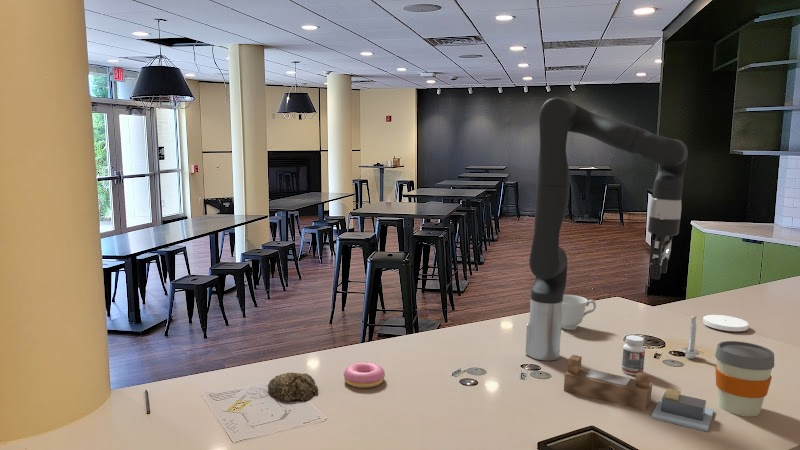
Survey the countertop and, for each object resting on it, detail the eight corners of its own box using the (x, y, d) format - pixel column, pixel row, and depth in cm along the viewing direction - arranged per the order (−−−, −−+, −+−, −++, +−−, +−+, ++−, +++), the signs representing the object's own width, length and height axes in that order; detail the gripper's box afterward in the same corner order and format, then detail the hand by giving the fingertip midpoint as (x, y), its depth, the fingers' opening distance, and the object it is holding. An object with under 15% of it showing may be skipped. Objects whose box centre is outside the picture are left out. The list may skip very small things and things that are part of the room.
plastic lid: (697, 320, 224) (697, 313, 223) (738, 322, 222) (738, 316, 221) (710, 332, 210) (711, 325, 210) (754, 335, 208) (755, 328, 208)
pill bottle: (644, 376, 170) (647, 342, 168) (623, 374, 171) (625, 340, 170) (641, 369, 175) (643, 335, 174) (620, 367, 177) (622, 333, 175)
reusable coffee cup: (767, 424, 143) (775, 362, 141) (707, 411, 150) (713, 351, 147) (769, 405, 153) (776, 347, 151) (713, 393, 160) (718, 337, 158)
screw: (702, 357, 185) (694, 361, 182) (685, 353, 189) (678, 357, 186) (706, 316, 183) (698, 319, 180) (689, 312, 187) (682, 315, 184)
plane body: (563, 390, 160) (565, 360, 159) (571, 381, 166) (573, 352, 165) (645, 410, 149) (647, 378, 148) (650, 399, 155) (653, 369, 154)
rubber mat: (651, 417, 145) (651, 415, 145) (660, 399, 155) (660, 397, 155) (707, 431, 139) (707, 429, 139) (713, 411, 149) (713, 409, 149)
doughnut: (366, 370, 171) (366, 356, 171) (393, 382, 163) (393, 367, 163) (335, 381, 164) (335, 366, 163) (362, 394, 156) (362, 378, 155)
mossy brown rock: (265, 386, 160) (264, 368, 159) (311, 379, 165) (311, 361, 164) (275, 406, 148) (274, 387, 148) (325, 398, 153) (325, 379, 152)
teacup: (599, 333, 206) (601, 304, 204) (554, 332, 206) (556, 303, 205) (589, 322, 218) (591, 294, 216) (546, 321, 218) (548, 293, 217)
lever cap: (660, 411, 148) (662, 393, 147) (664, 403, 152) (665, 386, 151) (702, 421, 143) (704, 403, 142) (704, 413, 147) (706, 395, 146)
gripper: (655, 211, 170) (649, 269, 173) (643, 217, 159) (637, 278, 161) (685, 214, 166) (678, 273, 169) (675, 220, 154) (668, 283, 157)
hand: (658, 275), depth 165 cm, fingers open, 8 cm apart
